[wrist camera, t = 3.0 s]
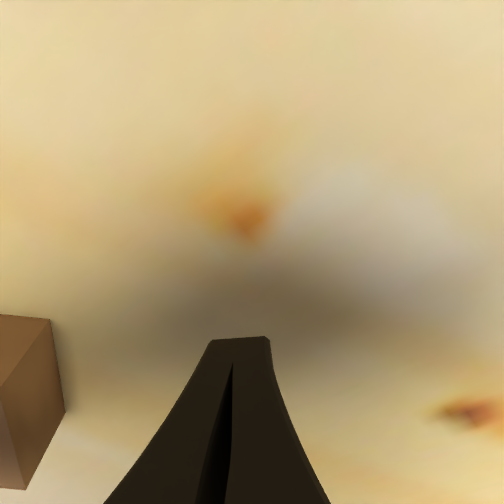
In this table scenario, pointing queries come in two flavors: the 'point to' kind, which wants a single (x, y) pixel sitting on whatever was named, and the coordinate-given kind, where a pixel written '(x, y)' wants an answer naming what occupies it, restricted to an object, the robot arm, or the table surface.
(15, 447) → the walnut bar
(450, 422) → the table surface
